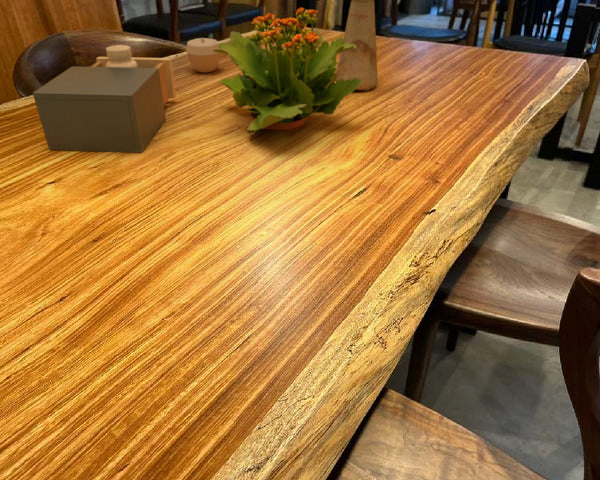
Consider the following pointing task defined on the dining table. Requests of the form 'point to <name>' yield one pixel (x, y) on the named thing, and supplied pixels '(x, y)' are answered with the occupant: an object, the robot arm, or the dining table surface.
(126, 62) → the pill bottle
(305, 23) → the potted flower
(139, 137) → the dark grey box
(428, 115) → the dining table surface
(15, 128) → the dining table surface
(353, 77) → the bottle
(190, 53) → the lidded pot
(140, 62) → the drawer
